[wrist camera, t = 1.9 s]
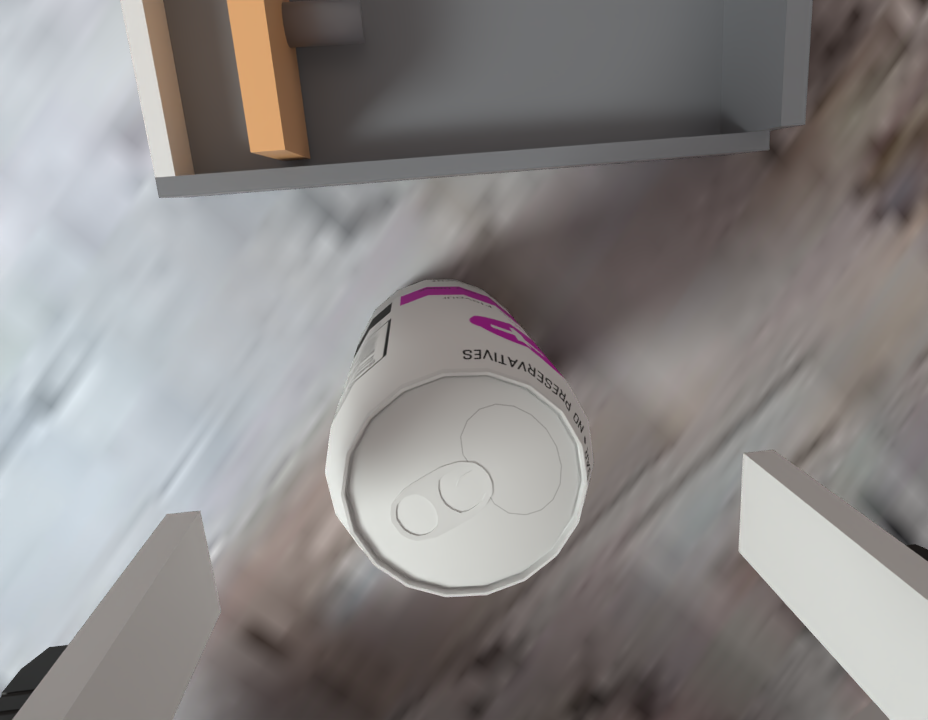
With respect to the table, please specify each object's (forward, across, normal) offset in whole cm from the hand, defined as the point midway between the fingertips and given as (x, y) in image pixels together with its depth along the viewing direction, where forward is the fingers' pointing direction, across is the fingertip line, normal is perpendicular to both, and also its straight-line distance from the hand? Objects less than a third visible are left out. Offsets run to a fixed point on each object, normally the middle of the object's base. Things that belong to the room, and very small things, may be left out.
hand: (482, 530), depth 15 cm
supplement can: (+18, 0, 0) cm, 18 cm away
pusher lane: (+18, -2, -15) cm, 23 cm away
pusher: (+16, +4, -15) cm, 22 cm away
